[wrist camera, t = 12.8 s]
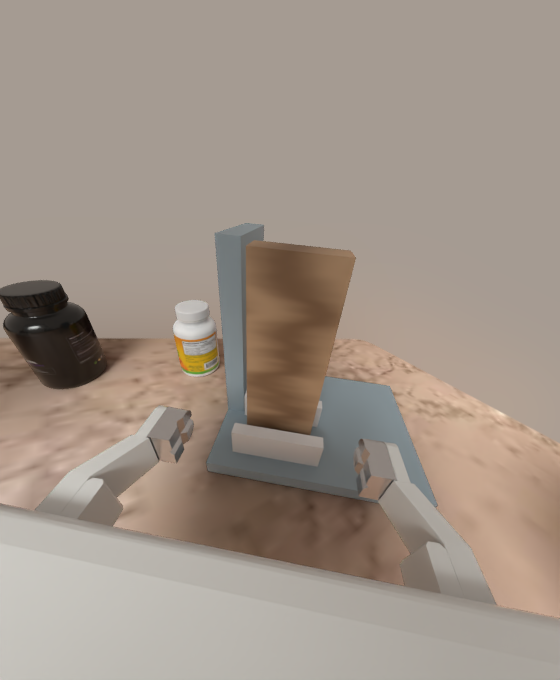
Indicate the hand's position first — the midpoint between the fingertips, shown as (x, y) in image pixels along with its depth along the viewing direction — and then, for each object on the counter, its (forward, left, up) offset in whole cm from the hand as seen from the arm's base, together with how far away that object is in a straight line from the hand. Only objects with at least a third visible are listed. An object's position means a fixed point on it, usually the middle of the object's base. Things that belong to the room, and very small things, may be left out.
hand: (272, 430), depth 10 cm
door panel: (0, +7, -11) cm, 13 cm away
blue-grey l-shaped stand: (+4, +10, -12) cm, 17 cm away
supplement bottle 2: (-13, +17, -13) cm, 25 cm away
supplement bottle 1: (-28, +12, -13) cm, 33 cm away
